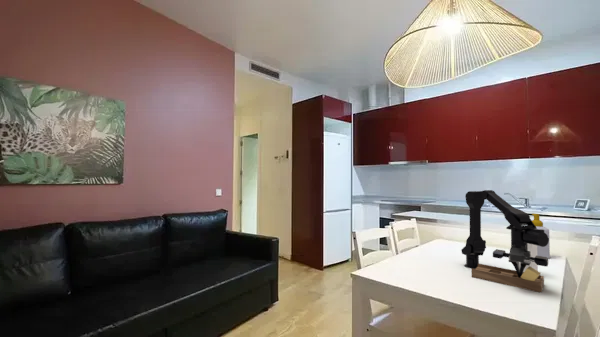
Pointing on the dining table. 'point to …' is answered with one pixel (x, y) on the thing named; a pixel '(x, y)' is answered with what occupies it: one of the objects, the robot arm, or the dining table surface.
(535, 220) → the soap bottle
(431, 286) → the dining table surface
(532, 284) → the wooden compartment tray
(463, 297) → the dining table surface
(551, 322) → the dining table surface
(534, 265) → the milk
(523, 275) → the block
